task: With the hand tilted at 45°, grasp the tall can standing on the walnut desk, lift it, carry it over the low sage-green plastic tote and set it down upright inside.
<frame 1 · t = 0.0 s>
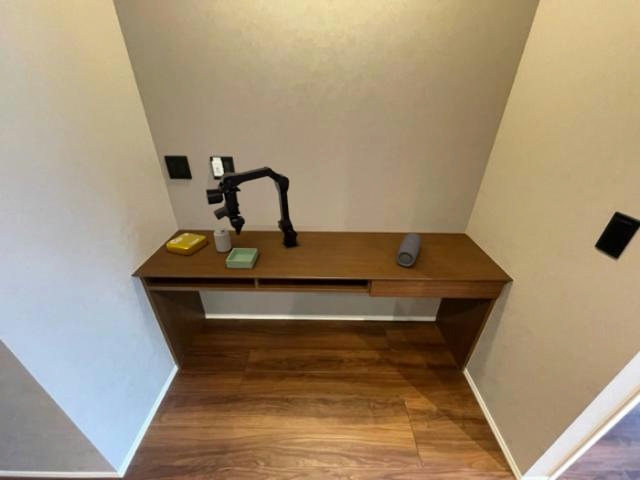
hand: (236, 231, 129), 15 cm above the table, tool pointing down, fingers open, 9 cm apart
tote: (243, 261, 132), on the table
element tile: (188, 247, 144), on the table
can: (224, 249, 142), on the table
bluetooth speaker: (407, 257, 138), on the table
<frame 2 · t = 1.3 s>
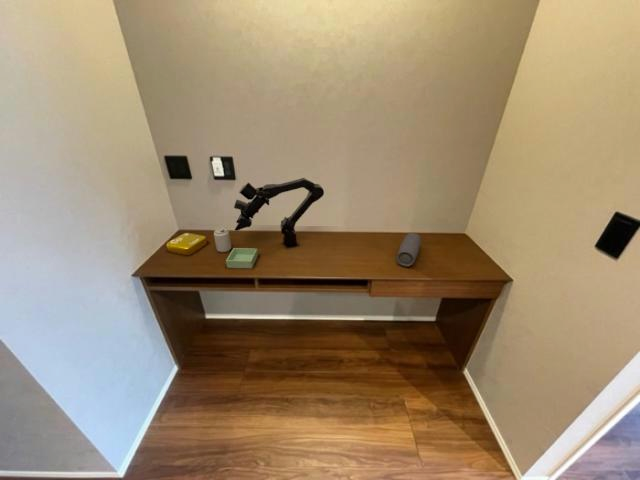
hand: (236, 226, 137), 13 cm above the table, tool tilted 45°, fingers open, 9 cm apart
nothing on the table moved.
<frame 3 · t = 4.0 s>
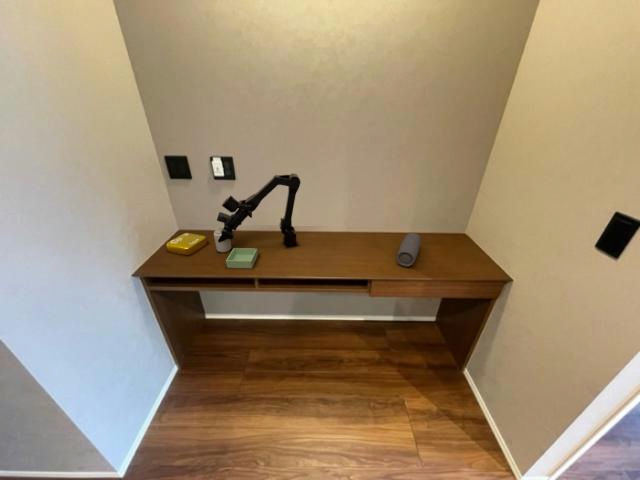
hand: (219, 238, 138), 7 cm above the table, tool tilted 45°, fingers closed on can, 7 cm apart
can: (224, 250, 142), on the table, touching gripper
everything else where it was.
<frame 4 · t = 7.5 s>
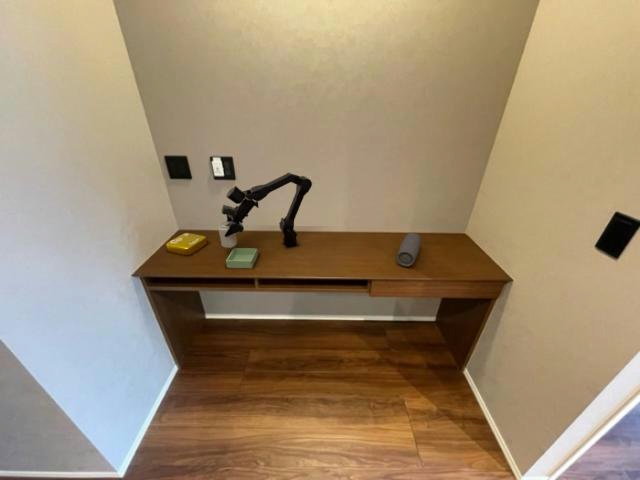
hand: (224, 233, 130), 13 cm above the table, tool tilted 45°, fingers closed on can, 7 cm apart
can: (229, 245, 134), point 6 cm above the table, touching gripper
everything else where it was.
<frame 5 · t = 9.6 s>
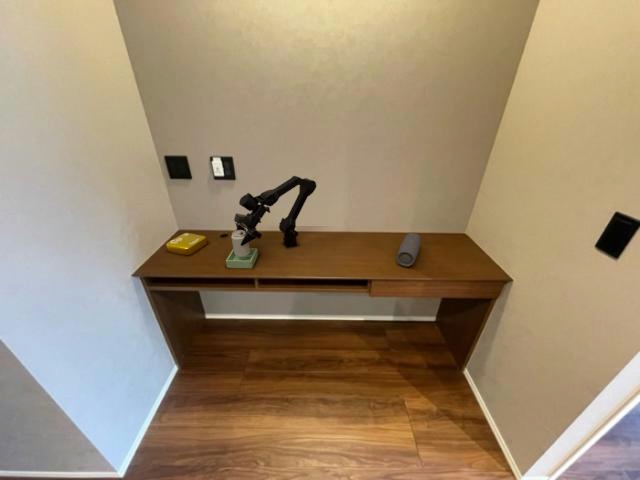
hand: (237, 242, 126), 11 cm above the table, tool tilted 45°, fingers closed on can, 7 cm apart
can: (242, 254, 131), point 4 cm above the table, touching gripper
everything else where it was.
when the fingers open (8 cm above the table, at t = 11.3 s): can stays where it is, resting on tote.
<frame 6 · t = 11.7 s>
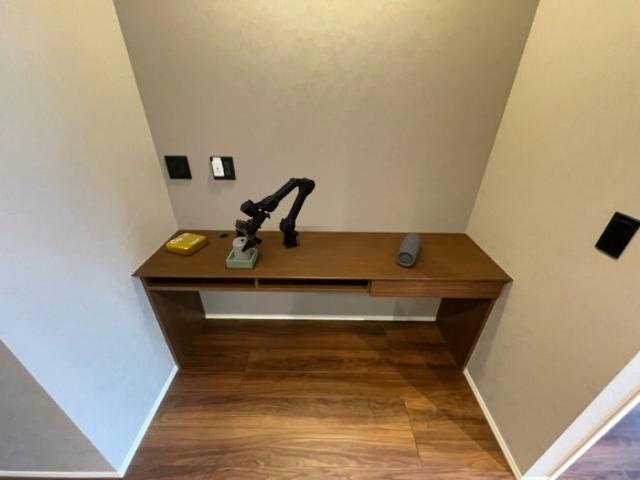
hand: (238, 247, 128), 8 cm above the table, tool tilted 45°, fingers open, 9 cm apart
can: (243, 260, 132), resting on tote
everything else where it was.
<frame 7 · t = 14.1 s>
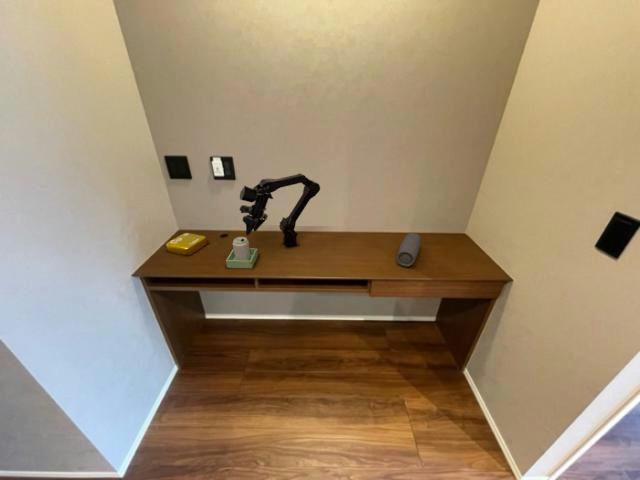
hand: (250, 232, 134), 12 cm above the table, tool tilted 25°, fingers open, 9 cm apart
nothing on the table moved.
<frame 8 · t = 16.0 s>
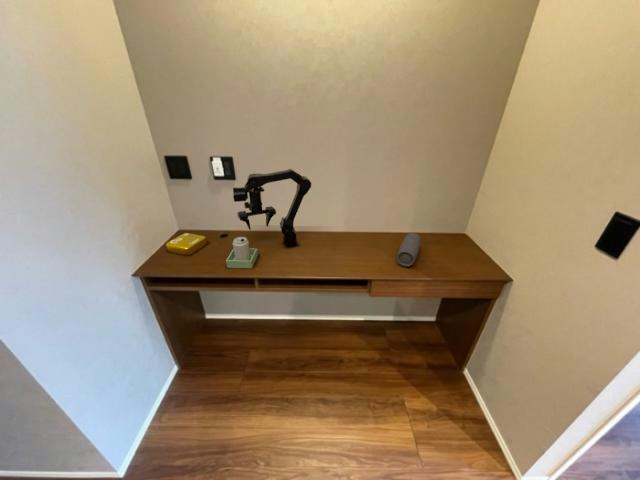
hand: (258, 228, 139), 12 cm above the table, tool pointing down, fingers open, 9 cm apart
nothing on the table moved.
at the end: can inside the target area in the tote (0.2 cm from its centre), point 0.3 cm above the tote's base; can tilted 0°; the gripper is holding nothing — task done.
